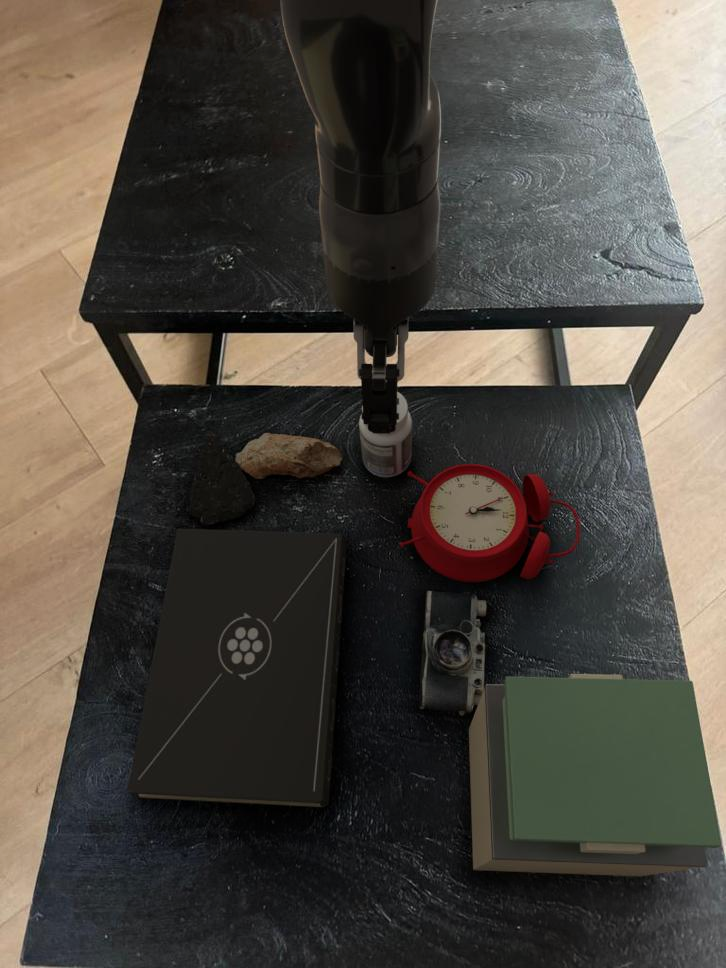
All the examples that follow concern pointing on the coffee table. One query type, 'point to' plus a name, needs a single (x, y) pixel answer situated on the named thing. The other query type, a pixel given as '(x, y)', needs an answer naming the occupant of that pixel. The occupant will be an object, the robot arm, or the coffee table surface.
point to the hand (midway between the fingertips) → (383, 385)
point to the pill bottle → (388, 445)
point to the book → (244, 670)
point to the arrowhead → (218, 486)
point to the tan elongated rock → (287, 456)
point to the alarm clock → (481, 523)
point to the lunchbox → (606, 763)
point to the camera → (452, 652)
